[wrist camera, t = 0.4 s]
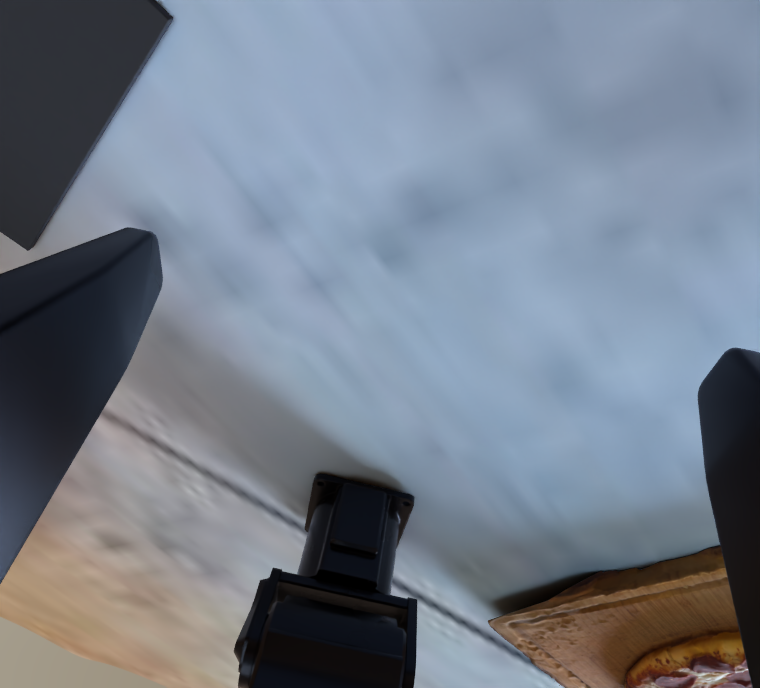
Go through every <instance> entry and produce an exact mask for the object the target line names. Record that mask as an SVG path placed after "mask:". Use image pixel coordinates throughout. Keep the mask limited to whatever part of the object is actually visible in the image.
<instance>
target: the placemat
mask: <svg viewBox="0 0 760 688" xmlns="http://www.w3.org/2000/svg"><path fill="white" fill-rule="evenodd" d="M172 20H173V18H172V17H171V16H170V15H169V14H168V13H167V12H166V11H165V10H164V9H163V8H162V7H161V6H160V5H159V4H158V3H157V2H156V1H154V0H0V232H1V233H3V234H4V235H6V236H7V237H9V238H10V239H12V240H13V241H14V242H16V243H17V244H19V245H20V246H22V247H23V248H25V249H26V250H27V251H29V250H30V249H31V248H32V247H33V246H34V244H35V243H36V241H37V240H38V238H39V236H40V235H41V233H42V231H43V230H44V228H45V227H46V225H47V223H48V222H49V220H50V218H51V217H52V215H53V214H54V212H55V210H56V209H57V207H58V205H59V204H60V202H61V201H62V199H63V197H64V196H65V194H66V192H67V191H68V189H69V187H70V186H71V184H72V183H73V181H74V179H75V178H76V176H77V174H78V173H79V171H80V170H81V168H82V166H83V165H84V163H85V161H86V160H87V158H88V157H89V155H90V153H91V152H92V150H93V148H94V147H95V145H96V144H97V142H98V140H99V139H100V137H101V135H102V134H103V132H104V131H105V129H106V127H107V126H108V124H109V122H110V121H111V119H112V117H113V116H114V114H115V113H116V111H117V109H118V108H119V106H120V104H121V103H122V101H123V100H124V98H125V96H126V95H127V93H128V91H129V90H130V88H131V87H132V85H133V83H134V82H135V80H136V78H137V77H138V75H139V74H140V72H141V70H142V69H143V67H144V65H145V64H146V62H147V60H148V59H149V57H150V56H151V54H152V52H153V51H154V49H155V47H156V46H157V44H158V43H159V41H160V39H161V38H162V36H163V34H164V33H165V31H166V30H167V28H168V26H169V25H170V23H171V21H172Z"/></svg>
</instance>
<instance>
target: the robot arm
mask: <svg viewBox="0 0 760 688" xmlns="http://www.w3.org/2000/svg"><path fill="white" fill-rule="evenodd" d="M162 282H163V274H162V267H161V259H160V251H159V244H158V239H157V237H156V235H155V234H154V233H153V232H151V231H146V230H141V229H136V228H124V229H121V230H119V231H116V232H113V233H110V234H108V235H105V236H102V237H100V238H97V239H94V240H91V241H89V242H86V243H83V244H81V245H78V246H75V247H72V248H70V249H67V250H64V251H62V252H59V253H56V254H53V255H51V256H48V257H45V258H43V259H40V260H37V261H34V262H32V263H29V264H26V265H24V266H21V267H18V268H15V269H13V270H10V271H7V272H5V273H2V274H0V584H1V582H2V580H3V579H4V577H5V575H6V574H7V572H8V570H9V569H10V567H11V565H12V563H13V562H14V560H15V558H16V557H17V555H18V553H19V552H20V550H21V548H22V546H23V545H24V543H25V541H26V540H27V538H28V536H29V535H30V533H31V531H32V529H33V528H34V526H35V524H36V523H37V521H38V519H39V517H40V516H41V514H42V512H43V511H44V509H45V507H46V506H47V504H48V502H49V500H50V499H51V497H52V495H53V494H54V492H55V490H56V489H57V487H58V485H59V483H60V482H61V480H62V478H63V477H64V475H65V473H66V472H67V470H68V468H69V466H70V465H71V463H72V461H73V460H74V458H75V456H76V454H77V453H78V451H79V449H80V448H81V446H82V444H83V443H84V441H85V439H86V437H87V436H88V434H89V432H90V431H91V429H92V427H93V426H94V424H95V422H96V420H97V419H98V417H99V415H100V414H101V412H102V410H103V409H104V407H105V405H106V403H107V402H108V400H109V398H110V397H111V395H112V393H113V391H114V390H115V388H116V386H117V385H118V383H119V381H120V380H121V378H122V376H123V374H124V372H125V370H126V369H127V367H128V365H129V363H130V360H131V358H132V356H133V354H134V352H135V349H136V347H137V345H138V342H139V340H140V338H141V335H142V333H143V331H144V328H145V326H146V324H147V321H148V319H149V317H150V314H151V312H152V310H153V307H154V305H155V302H156V300H157V298H158V295H159V293H160V291H161V287H162ZM698 405H699V415H700V425H701V435H702V445H703V455H704V465H705V473H706V481H707V486H708V491H709V497H710V501H711V506H712V510H713V515H714V519H715V524H716V528H717V533H718V537H719V542H720V546H721V550H722V555H723V559H724V564H725V568H726V573H727V577H728V582H729V586H730V591H731V595H732V600H733V604H734V609H735V613H736V618H737V622H738V627H739V631H740V636H741V640H742V645H743V649H744V654H745V658H746V663H747V667H748V672H749V676H750V681H751V685H752V688H760V353H759V352H756V351H751V350H746V349H741V348H731V349H729V350H727V351H726V352H725V353H724V354H723V355H722V356H721V358H720V359H719V360H718V362H717V363H716V364H715V366H714V367H713V368H712V370H711V371H710V372H709V374H708V375H707V376H706V378H705V379H704V380H703V382H702V383H701V385H700V388H699V391H698ZM413 506H414V497H413V496H412V495H410V494H406V493H402V492H398V491H393V490H389V489H385V488H380V487H376V486H372V485H367V484H363V483H359V482H355V481H350V480H346V479H342V478H337V477H333V476H329V475H324V474H317V475H316V476H315V478H314V482H313V487H312V492H311V497H310V503H309V508H308V514H307V519H306V524H305V530H306V531H307V532H308V535H307V539H306V543H305V547H304V550H303V554H302V558H301V562H300V566H299V569H298V573H297V574H292V573H287V572H283V571H282V570H281V569H277V568H273V569H272V572H271V575H270V577H269V578H268V579H264V580H260V583H259V586H258V589H257V592H256V596H255V599H254V602H253V605H252V607H251V610H250V612H249V615H248V617H247V619H246V621H245V623H244V626H243V628H242V630H241V632H240V635H239V637H238V639H237V641H236V644H235V648H234V653H235V655H236V657H237V659H238V661H239V672H240V676H239V682H238V688H413V687H414V679H415V669H416V635H417V599H413V598H409V597H408V599H406V598H401V597H397V596H392V595H390V593H391V585H392V578H393V570H394V562H395V555H396V549H397V546H398V544H399V541H400V539H401V536H402V534H403V531H404V529H405V526H406V524H407V521H408V519H409V516H410V514H411V511H412V509H413Z"/></svg>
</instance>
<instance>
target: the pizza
mask: <svg viewBox="0 0 760 688" xmlns="http://www.w3.org/2000/svg"><path fill="white" fill-rule="evenodd" d="M488 623H489V625H490V626H491V627H492V628H493V629H494V630H495V631H496V632H497V633H498V634H500V635H501V636H502V637H503V638H504V639H505V640H507V641H508V642H509V643H511V644H512V645H514V646H515V647H516V648H517V649H519V650H520V651H521V652H523V654H524V655H526V656H527V657H529V658H530V660H531V662H532V663H533V664H534V665H535V666H537V667H538V668H539V669H541V670H542V671H543V672H544V673H546V674H549V675H550V676H551V678H554V679H555V680H556V682H557V683H559V684H560V685H562V686H563V687H565V688H752V685H751V681H750V676H749V672H748V667H747V663H746V658H745V654H744V649H743V645H742V640H741V636H740V631H739V627H738V622H737V618H736V613H735V609H734V604H733V600H732V595H731V591H730V586H729V582H728V577H727V573H726V568H725V564H724V559H723V555H722V550H721V546H717V547H711V548H709V549H706V550H703V551H701V552H699V553H698V554H693V555H690V556H687V557H682V558H678V559H674V560H668V561H665V562H659V563H656V564H654V565H652V566H649V567H647V568H644V569H641V570H639V569H637V568H633V569H628V570H625V571H619V572H618V571H617V570H614V571H605V572H602V571H600V572H598V573H596V574H594V575H592V576H590V577H589V578H587V579H585V580H583V581H581V582H579V583H577V584H575V585H573V586H571V587H570V588H568V589H566V590H564V591H563V592H561V593H559V594H558V595H556V596H554V597H553V598H551V599H550V600H548V601H545V602H542V603H539V604H536V605H533V606H530V607H527V608H524V609H521V610H518V611H515V612H512V613H509V614H506V615H503V616H500V617H497V618H494V619H491V620H489V621H488Z"/></svg>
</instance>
